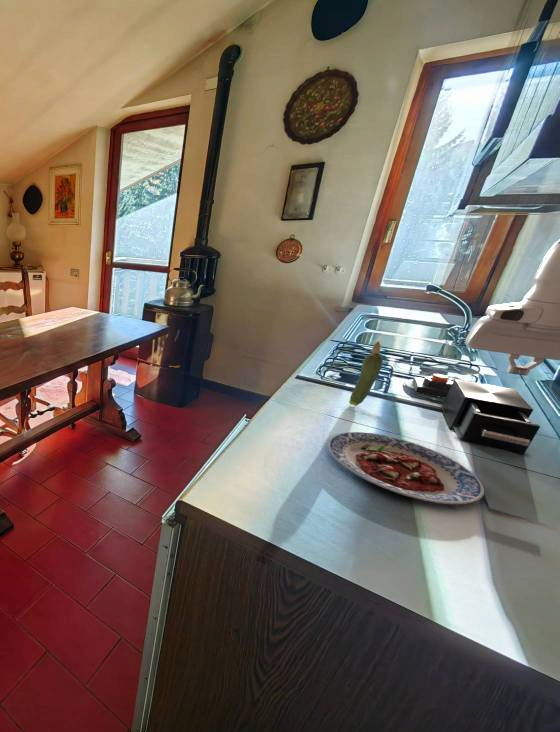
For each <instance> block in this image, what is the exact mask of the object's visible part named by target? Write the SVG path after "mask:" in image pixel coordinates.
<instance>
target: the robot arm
mask: <svg viewBox="0 0 560 732" xmlns="http://www.w3.org/2000/svg"><path fill="white" fill-rule="evenodd" d="M539 264H540V265H539V266H538V268H537V270H536V272H535V274H534V275H533V279H532V280H533V281H532V285H531V288H530V289H529V290H528V292H526V293H525V294H524V295H523V298H522V300H521V301H519V302H510V303H502V304H493V305H489V306H488V307H486V310H485V314H486V315H485V316H482V317H480V318H479V319H477V320H476V322H475V323H474V324H473V326H472V327H471V329H470V330H469V332H468V333H467V335H466V338H465V340H464V341H465V342H464V343H465V345H466V346H467V347H468V348H469V349H472V350H478V351H486V352H494V353H502V354H506V356H505V357H506V360H507V363H508V367H507V368H506V373H507V374H510V375H511V374H512V375H518V376H525V377H527V376H528V375H529V373H530V371H531V370H533V369H534V368H536V367H538V366H540V365H542V364H543V362H544V361H545V360H546V359H547V360H553V361H560V239H559V240H558V241H556V242H555V243H554V244H553V245H552V246H551V248H549V250H548V251H547V253H546V254H545V255H544V257H543V259H542V260H541V262H540V263H539ZM521 357H530V358H529V360H531V361H529V362H528V363H526V364H525V365H518V364H516V362H515V361H516V360H519V359H520V358H521Z"/></svg>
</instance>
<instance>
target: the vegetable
mask: <svg viewBox="0 0 560 732" xmlns="http://www.w3.org/2000/svg"><path fill="white" fill-rule="evenodd" d="M380 353H381V343H380V341H378V340H377V341H376V342H375V343H374V345H373V346H372V349H371V353H369V354H367V355H365V357H364V359H363V360H362V362H361V363H362V364H361V369H360V375H359V377H358V381H357V382H356V384H355V386H354V387H353V390H352V392H351V395H350V398H349V401H348V403H349V405H351V406H354V407H358V406H359V405H360V404H361V403H363V402H364V400H365V399H366V398H367V397H368V395H369V394H370V391H371V389H372V387H373V386H374V384H375V382H376V380H377V378H378V376H379V374H380V373H381V369H382V366H383V363H384V362H383V361H384V360H383V356H382V355H380Z"/></svg>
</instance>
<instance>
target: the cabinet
mask: <svg viewBox="0 0 560 732" xmlns="http://www.w3.org/2000/svg"><path fill="white" fill-rule="evenodd" d="M452 382H453V384H452V386H451V388H450V390H449V393H448V395H447V397H446V398H444V402H443V403H442V404H441V405H442V406H441V408H440V411H441V413H442V416H443V419H444V420H445V423H446V425H447V427H448V429H449V430H450V431H452V432H453V431H454V432H456V429H455V428H454V427H456V426H458V425H457V423H458V421H459V419H460V417H461V414H462V412H463V410H464V408H465V406H466V404H467V402H468V400H469V401H474V402H479V403H484V404H490V405H495V406H500V407H505V408H511V409H516V410H521V411H522V412H523V413H524V414H525V415H526V416H527V418H528V419H530V416H531V415H532V413H533V411H534V409H533V407H532V406H531V405H530V404H529V402H527V401H526V399H525V398H524V397H523V396H522V395H521V394H520V393H519V392H518V390H516V389H515V388H510V387H504V386H498V385H493V384H487V383H481V382H476V381H470V380H463V379H457V378H455V379H453V381H452Z"/></svg>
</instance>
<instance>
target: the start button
mask: <svg viewBox="0 0 560 732" xmlns="http://www.w3.org/2000/svg"><path fill="white" fill-rule="evenodd" d="M431 376H432V380H434V381H437V382H443V383H447V381H448V380H449V378H450V376H448V375H445V374H441V373H433V374H432V375H431Z"/></svg>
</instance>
